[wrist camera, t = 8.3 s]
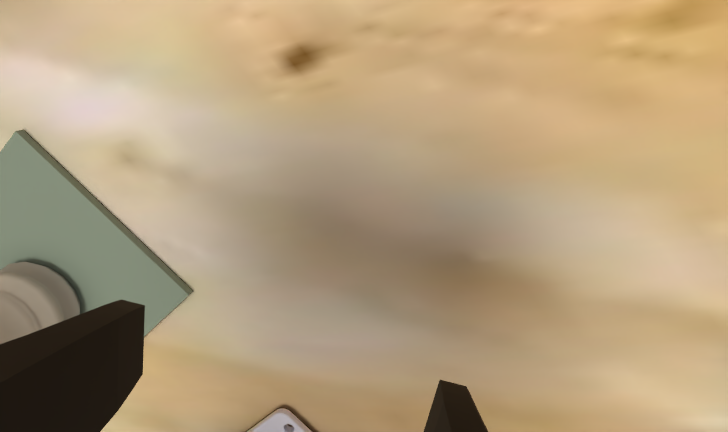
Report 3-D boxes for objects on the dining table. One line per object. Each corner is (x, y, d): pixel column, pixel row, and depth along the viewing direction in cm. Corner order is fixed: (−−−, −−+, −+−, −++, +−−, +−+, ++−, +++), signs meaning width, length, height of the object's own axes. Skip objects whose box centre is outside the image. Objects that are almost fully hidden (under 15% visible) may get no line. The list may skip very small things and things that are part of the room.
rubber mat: (192, 290, 22) (188, 295, 22) (78, 397, 25) (72, 402, 25) (23, 129, 21) (15, 131, 20) (-77, 264, 24) (-85, 268, 23)
